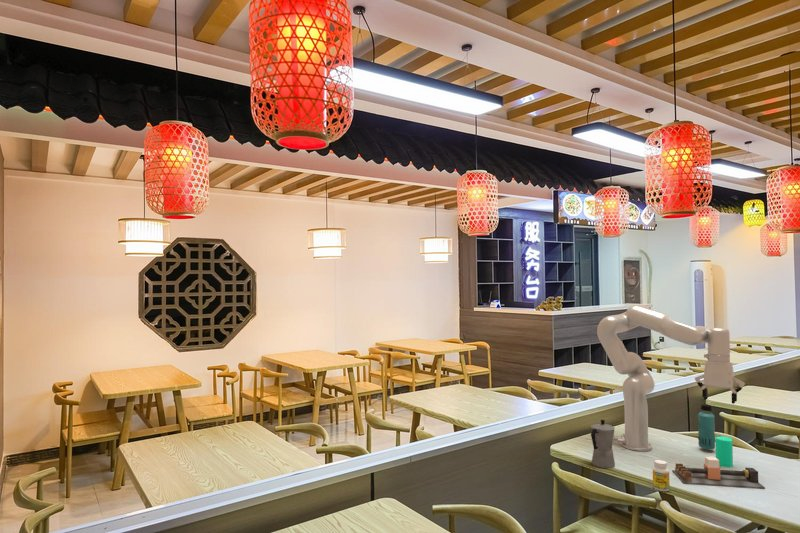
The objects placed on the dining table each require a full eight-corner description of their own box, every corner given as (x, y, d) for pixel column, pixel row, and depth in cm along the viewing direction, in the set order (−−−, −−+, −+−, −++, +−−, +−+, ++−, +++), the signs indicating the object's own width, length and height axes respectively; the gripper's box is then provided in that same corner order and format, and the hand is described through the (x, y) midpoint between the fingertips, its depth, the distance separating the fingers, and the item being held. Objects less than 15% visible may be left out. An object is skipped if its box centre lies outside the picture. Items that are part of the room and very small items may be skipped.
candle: (730, 462, 209) (730, 433, 210) (734, 467, 204) (734, 437, 204) (713, 461, 211) (713, 431, 212) (717, 466, 206) (717, 436, 206)
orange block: (708, 479, 190) (708, 460, 190) (704, 474, 194) (703, 456, 194) (720, 479, 189) (720, 460, 190) (715, 475, 193) (715, 456, 194)
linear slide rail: (683, 483, 188) (683, 471, 188) (672, 471, 200) (672, 459, 200) (764, 489, 183) (764, 476, 183) (748, 476, 195) (748, 464, 195)
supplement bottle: (668, 486, 185) (668, 460, 185) (670, 492, 180) (670, 465, 180) (652, 484, 187) (651, 458, 187) (653, 490, 182) (653, 463, 182)
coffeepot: (600, 457, 216) (599, 414, 216) (622, 463, 209) (621, 419, 209) (581, 466, 206) (580, 421, 206) (603, 473, 199) (603, 426, 199)
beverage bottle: (710, 448, 227) (710, 403, 228) (718, 453, 221) (717, 406, 221) (695, 447, 228) (694, 402, 228) (702, 452, 221) (702, 406, 222)
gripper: (692, 357, 210) (693, 399, 209) (742, 362, 198) (743, 406, 197) (696, 355, 215) (697, 396, 215) (746, 359, 203) (746, 402, 203)
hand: (719, 401), depth 206 cm, fingers open, 9 cm apart
